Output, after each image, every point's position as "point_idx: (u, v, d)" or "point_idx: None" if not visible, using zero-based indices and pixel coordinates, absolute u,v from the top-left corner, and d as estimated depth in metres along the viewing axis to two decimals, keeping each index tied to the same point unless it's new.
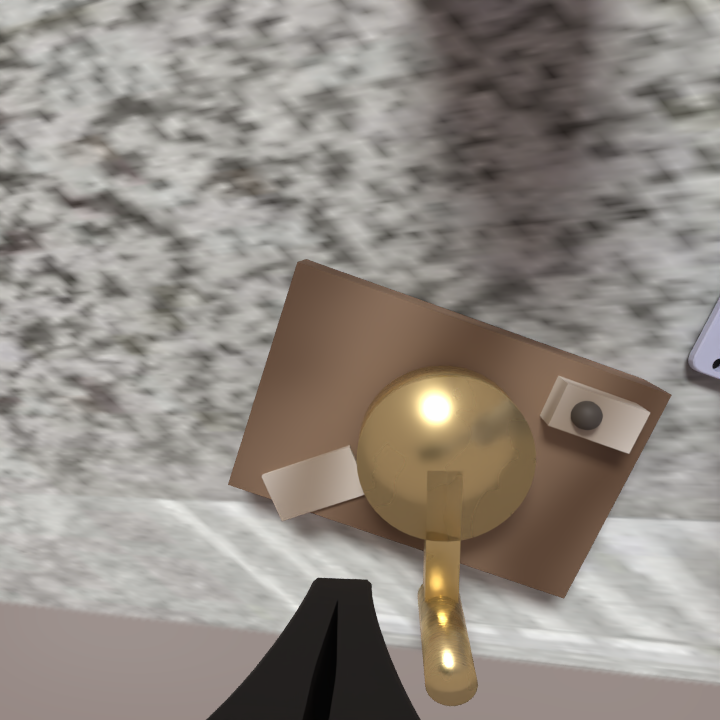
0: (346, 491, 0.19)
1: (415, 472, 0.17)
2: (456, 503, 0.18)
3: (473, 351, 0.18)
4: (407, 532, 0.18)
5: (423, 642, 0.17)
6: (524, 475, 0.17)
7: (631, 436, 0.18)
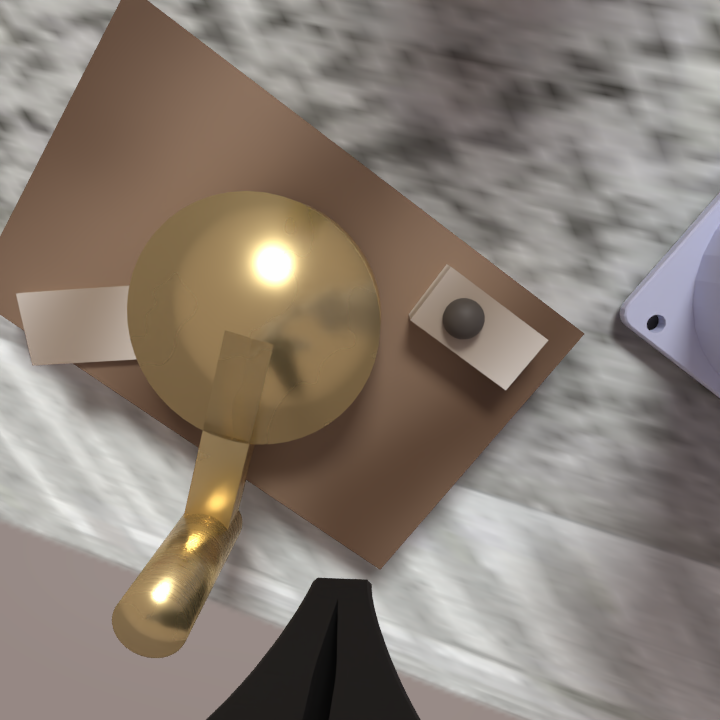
0: (128, 347, 0.14)
1: (207, 328, 0.12)
2: (254, 389, 0.12)
3: (342, 196, 0.13)
4: (179, 413, 0.13)
5: (147, 563, 0.12)
6: (355, 374, 0.12)
7: (515, 366, 0.13)
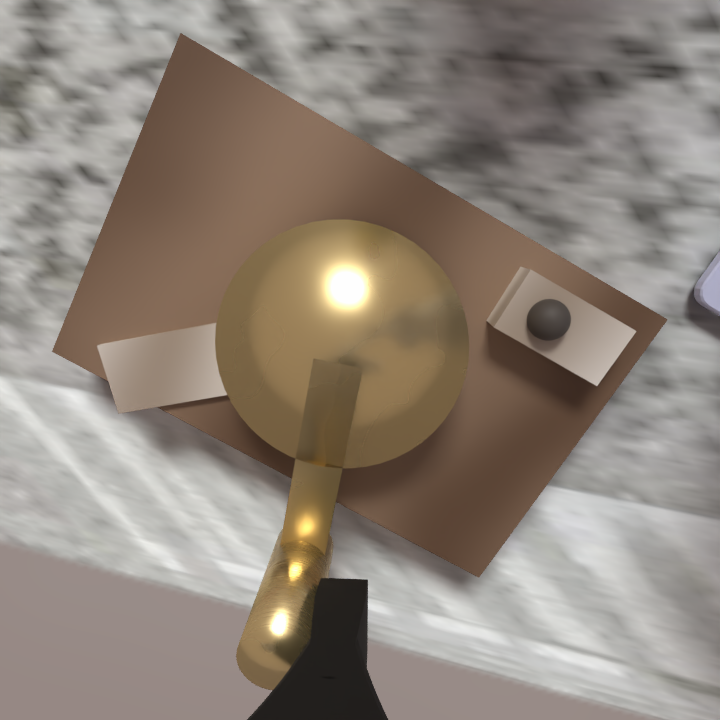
0: (210, 385, 0.14)
1: (296, 358, 0.12)
2: (345, 414, 0.12)
3: (410, 211, 0.13)
4: (271, 443, 0.13)
5: (257, 595, 0.12)
6: (446, 391, 0.12)
7: (604, 361, 0.13)
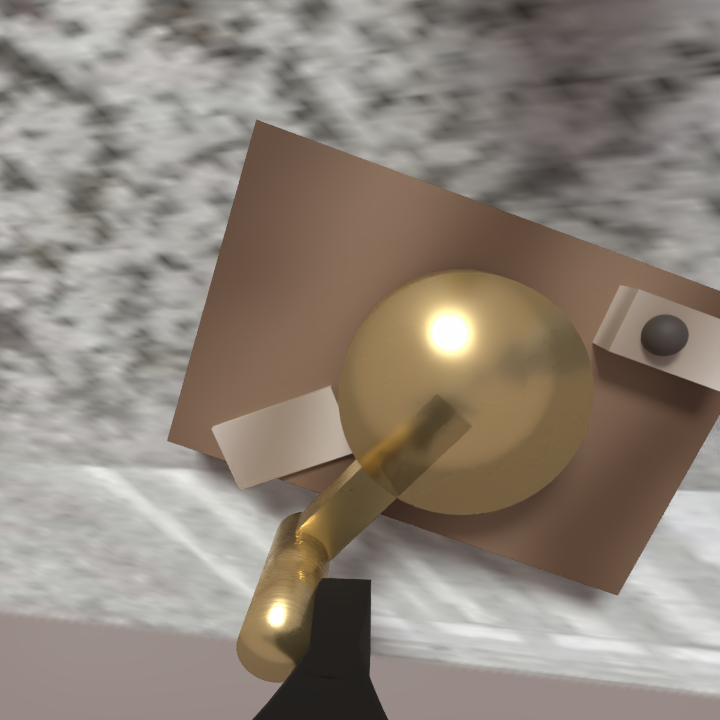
0: (327, 449, 0.14)
1: (422, 384, 0.12)
2: (431, 455, 0.12)
3: (502, 250, 0.13)
4: (349, 442, 0.13)
5: (269, 575, 0.12)
6: (527, 484, 0.13)
7: None
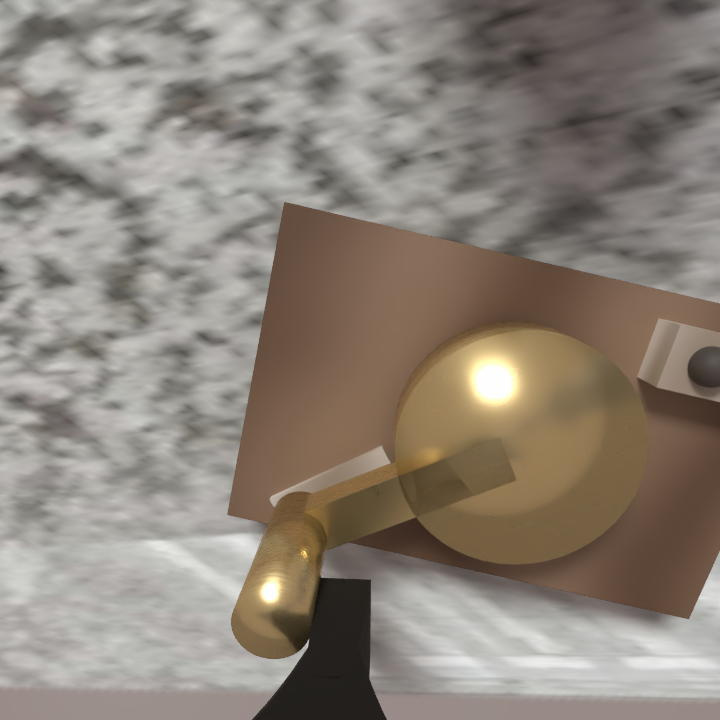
0: None
1: (490, 423, 0.12)
2: (467, 491, 0.13)
3: (537, 298, 0.13)
4: (397, 449, 0.12)
5: (278, 547, 0.11)
6: (539, 551, 0.13)
7: None
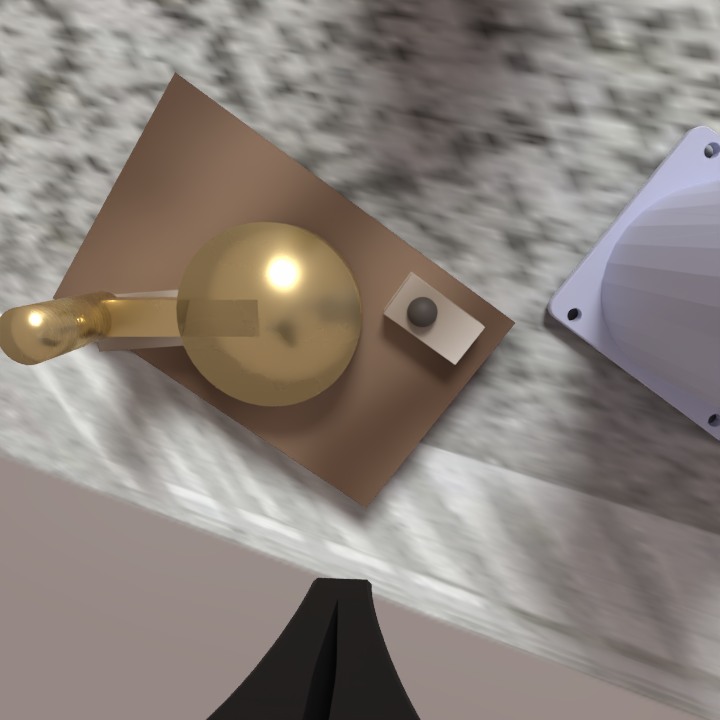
0: None
1: (254, 286, 0.16)
2: (222, 331, 0.17)
3: (333, 222, 0.17)
4: (183, 279, 0.16)
5: (61, 301, 0.15)
6: (259, 396, 0.17)
7: (461, 347, 0.17)
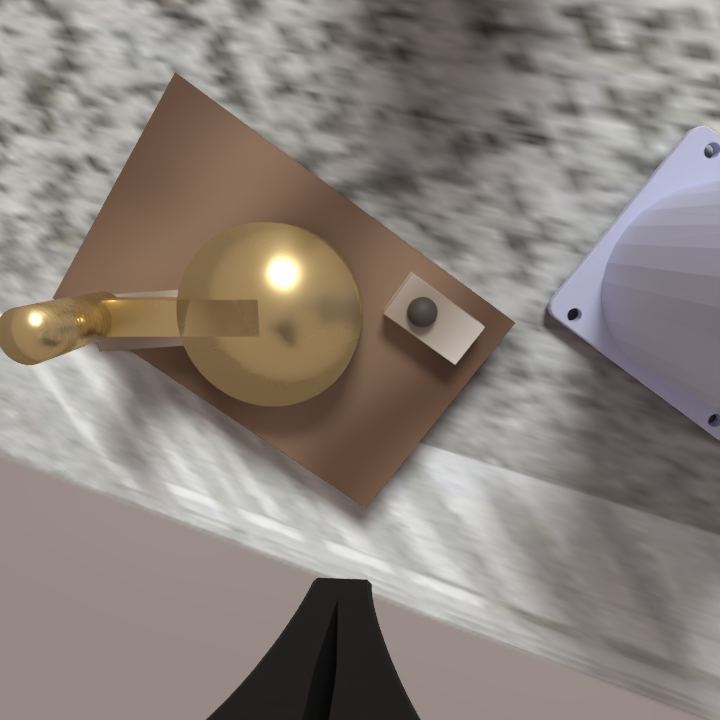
0: None
1: (254, 286, 0.16)
2: (222, 330, 0.17)
3: (333, 222, 0.17)
4: (183, 279, 0.16)
5: (61, 301, 0.15)
6: (259, 396, 0.17)
7: (461, 347, 0.17)
